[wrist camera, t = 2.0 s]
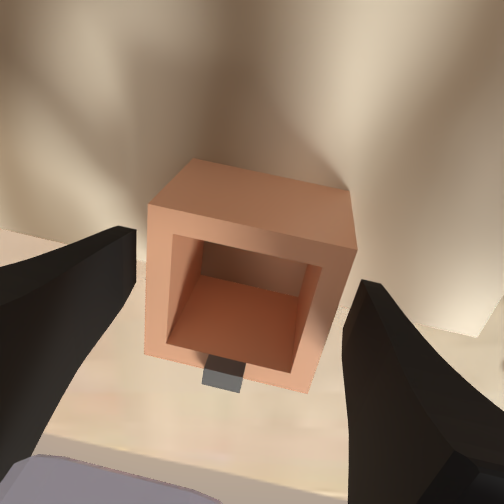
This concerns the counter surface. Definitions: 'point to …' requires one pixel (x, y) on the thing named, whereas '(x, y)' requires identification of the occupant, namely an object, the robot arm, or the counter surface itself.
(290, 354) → the orange hollow cube
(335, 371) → the counter surface
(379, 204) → the beige base plate
